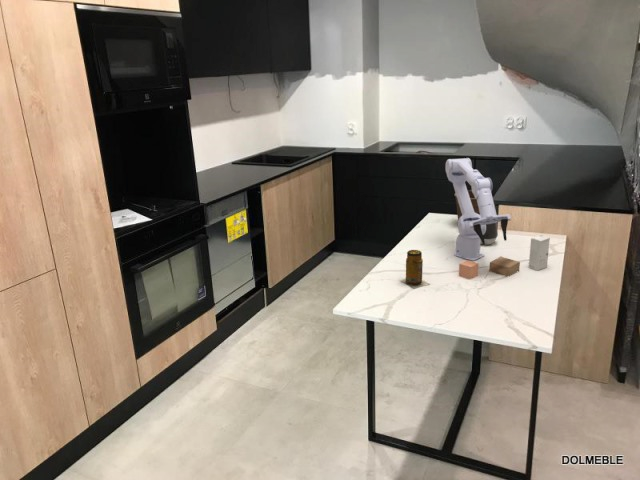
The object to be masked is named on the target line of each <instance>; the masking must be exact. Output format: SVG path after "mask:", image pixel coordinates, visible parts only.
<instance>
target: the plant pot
mask: <svg viewBox="0 0 640 480" xmlns="http://www.w3.org/2000/svg"><path fill="white" fill-rule="evenodd" d="M467 191H468V194H469V197H470V200H471V203H472V206H473V209H474V212H475V213H477V214H479V215H480V212H479V207H478V203H477V199H475V196H474V194H473V193H472V189H470V190H469V189H467ZM454 197H455V203H456V212H457V214H456V215H457V221H458V220H459V218H460V217H461V216H462V213H461V209H460V206H459V203H458V199H457V196H456V193H454Z"/></svg>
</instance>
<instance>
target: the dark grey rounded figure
mask: <svg viewBox="0 0 640 480" xmlns="http://www.w3.org/2000/svg"><path fill="white" fill-rule="evenodd" d="M497 223H498V222H497ZM497 223H491V224H486V232H485V233H484V235H483V237H484V241H485V244H484V245H483V243H482V241H480V245H483V246H486V245H487V246H489V245H492V244H494V243H495V241H496V240H497V237H498V236H499V231H498V224H497Z"/></svg>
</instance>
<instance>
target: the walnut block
mask: <svg viewBox="0 0 640 480" xmlns="http://www.w3.org/2000/svg"><path fill="white" fill-rule="evenodd" d="M520 264H521V261H519V260H516V259H515V260H514V259H512V258H508V257H503V256H499V257H497V258H495V259H493V260H491V261H489V264H488V265H489V268H488V269H489V271H488V272H490V273H495V274H496V275H501V276H503V275H505V276H504V277H507V276H509V277H511V276H512V274H513V275H515V274H516V273H518V272H520ZM517 271H518V272H517ZM510 275H511V276H510Z"/></svg>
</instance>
